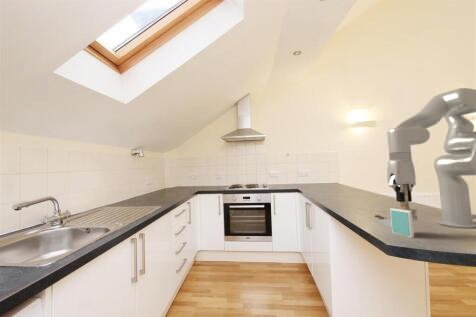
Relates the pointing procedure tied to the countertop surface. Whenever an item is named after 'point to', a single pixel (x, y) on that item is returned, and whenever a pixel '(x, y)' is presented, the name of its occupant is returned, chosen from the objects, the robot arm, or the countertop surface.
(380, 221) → the kitchen cleaver
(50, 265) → the countertop surface
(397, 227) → the tile
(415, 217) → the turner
